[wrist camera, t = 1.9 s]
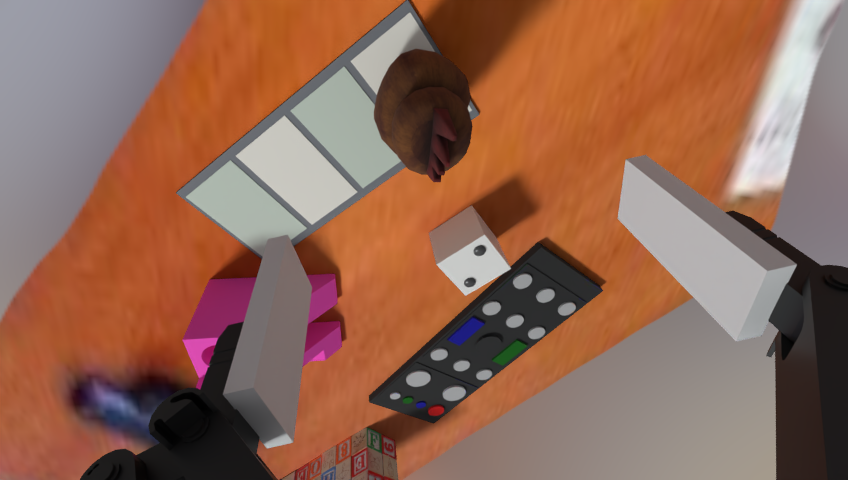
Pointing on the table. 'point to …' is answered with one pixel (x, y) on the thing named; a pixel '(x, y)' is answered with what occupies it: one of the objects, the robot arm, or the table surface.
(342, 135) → the game mat
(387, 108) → the wooden figurine
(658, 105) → the table surface
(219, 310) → the bracket
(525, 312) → the remote control
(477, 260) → the die
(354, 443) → the stack of blocks
